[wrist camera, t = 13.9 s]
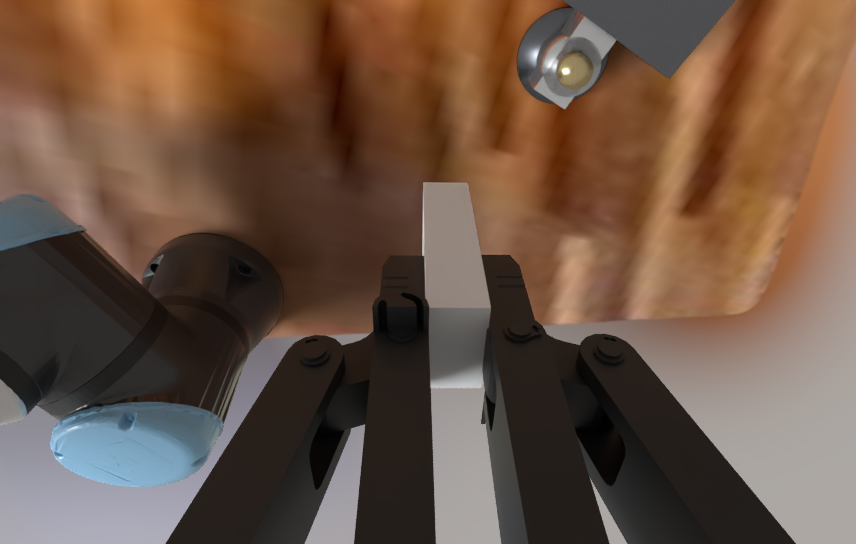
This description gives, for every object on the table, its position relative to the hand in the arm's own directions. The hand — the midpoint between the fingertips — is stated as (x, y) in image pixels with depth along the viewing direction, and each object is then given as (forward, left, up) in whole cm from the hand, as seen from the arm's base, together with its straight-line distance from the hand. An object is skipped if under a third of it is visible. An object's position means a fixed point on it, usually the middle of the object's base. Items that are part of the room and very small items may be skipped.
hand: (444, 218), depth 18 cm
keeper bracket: (+15, +1, -32) cm, 36 cm away
